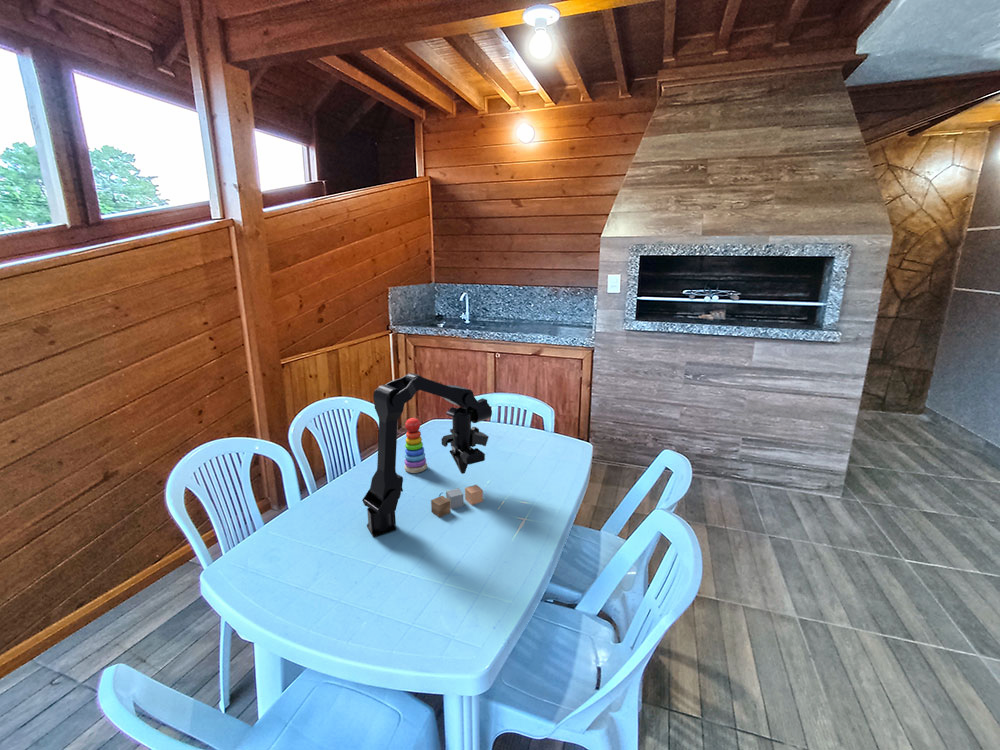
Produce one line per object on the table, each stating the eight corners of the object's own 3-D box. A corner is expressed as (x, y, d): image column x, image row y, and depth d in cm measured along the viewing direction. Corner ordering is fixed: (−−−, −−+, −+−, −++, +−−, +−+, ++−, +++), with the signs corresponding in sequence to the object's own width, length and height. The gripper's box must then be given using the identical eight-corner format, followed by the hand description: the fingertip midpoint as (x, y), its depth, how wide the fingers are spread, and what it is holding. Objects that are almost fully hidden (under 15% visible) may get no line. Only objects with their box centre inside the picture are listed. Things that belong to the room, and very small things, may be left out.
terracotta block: (471, 505, 143) (471, 493, 142) (465, 499, 146) (464, 487, 145) (482, 501, 145) (482, 489, 144) (476, 496, 148) (476, 484, 147)
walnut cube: (439, 517, 136) (438, 505, 135) (431, 512, 139) (431, 500, 138) (450, 512, 139) (450, 500, 138) (442, 507, 142) (442, 495, 141)
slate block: (451, 509, 141) (450, 497, 140) (446, 503, 144) (446, 491, 143) (463, 506, 143) (463, 494, 142) (458, 500, 146) (458, 488, 145)
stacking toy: (429, 464, 170) (427, 414, 166) (424, 474, 163) (421, 423, 158) (408, 463, 171) (405, 414, 166) (401, 473, 163) (398, 422, 159)
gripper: (500, 431, 142) (500, 478, 146) (470, 413, 158) (471, 457, 162) (467, 438, 137) (468, 487, 141) (440, 419, 152) (441, 464, 156)
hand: (462, 473), depth 150 cm, fingers closed
